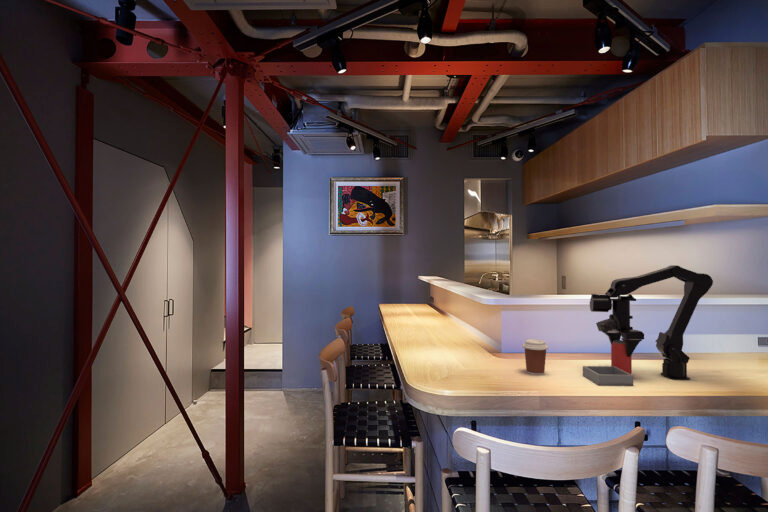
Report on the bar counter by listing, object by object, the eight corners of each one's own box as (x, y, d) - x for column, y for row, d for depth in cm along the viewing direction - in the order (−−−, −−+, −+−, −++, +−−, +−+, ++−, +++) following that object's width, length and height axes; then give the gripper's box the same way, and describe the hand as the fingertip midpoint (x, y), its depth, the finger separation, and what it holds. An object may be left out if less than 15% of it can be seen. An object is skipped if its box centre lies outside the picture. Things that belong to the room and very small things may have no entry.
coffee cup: (544, 369, 154) (543, 338, 154) (551, 376, 145) (551, 343, 145) (520, 369, 155) (519, 338, 155) (526, 375, 146) (525, 343, 146)
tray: (614, 375, 146) (614, 366, 146) (633, 385, 134) (633, 375, 134) (582, 375, 146) (582, 366, 146) (598, 385, 135) (598, 375, 135)
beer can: (634, 376, 145) (634, 343, 145) (615, 375, 146) (614, 343, 146) (627, 371, 151) (627, 340, 151) (608, 370, 153) (608, 339, 153)
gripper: (587, 309, 159) (587, 348, 158) (612, 316, 140) (613, 360, 140) (615, 309, 158) (616, 348, 158) (644, 316, 140) (645, 360, 139)
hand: (621, 353), depth 149 cm, fingers open, 9 cm apart
